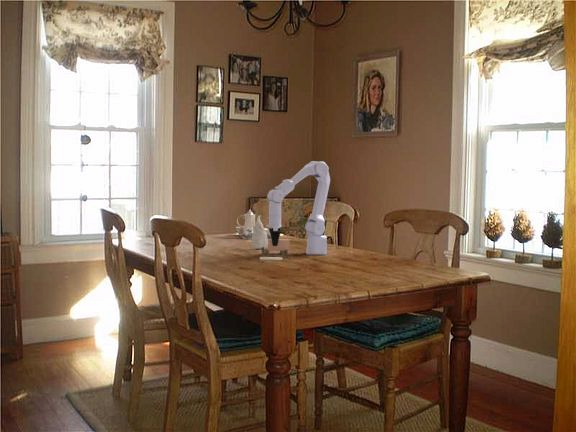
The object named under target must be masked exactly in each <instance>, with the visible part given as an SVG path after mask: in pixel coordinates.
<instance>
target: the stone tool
mask: <svg viewBox="0 0 576 432" xmlns="http://www.w3.org/2000/svg"><path fill="white" fill-rule="evenodd" d="M264 228H265V227H264V224H263V223H262V221H261V219H260V220H259V219H258V220H255V226H254V231H253V235H252V239H251V242H250V243H251V245H250V246H251V249H253V250H262V247H264V250H265V249H268V238H267V233H266V230H265V229H264Z"/></svg>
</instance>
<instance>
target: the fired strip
mask: <svg viewBox="0 0 576 432" xmlns="http://www.w3.org/2000/svg"><path fill="white" fill-rule="evenodd" d="M259 260H260V261H261V260H265V261H282V260H283V257H262V256H259Z"/></svg>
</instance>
